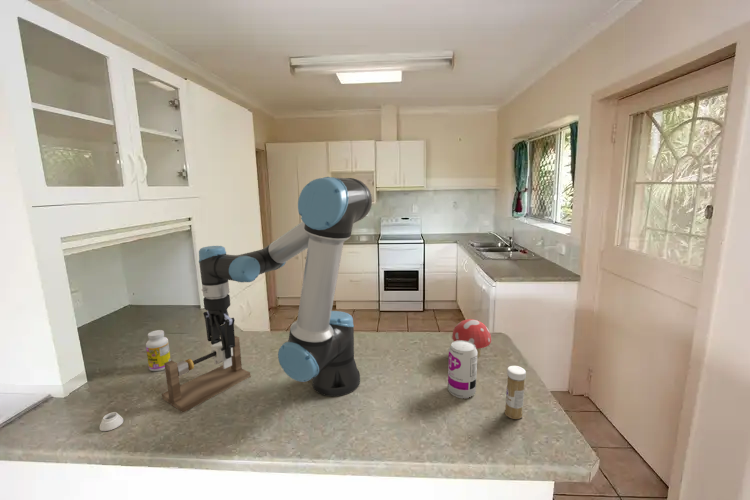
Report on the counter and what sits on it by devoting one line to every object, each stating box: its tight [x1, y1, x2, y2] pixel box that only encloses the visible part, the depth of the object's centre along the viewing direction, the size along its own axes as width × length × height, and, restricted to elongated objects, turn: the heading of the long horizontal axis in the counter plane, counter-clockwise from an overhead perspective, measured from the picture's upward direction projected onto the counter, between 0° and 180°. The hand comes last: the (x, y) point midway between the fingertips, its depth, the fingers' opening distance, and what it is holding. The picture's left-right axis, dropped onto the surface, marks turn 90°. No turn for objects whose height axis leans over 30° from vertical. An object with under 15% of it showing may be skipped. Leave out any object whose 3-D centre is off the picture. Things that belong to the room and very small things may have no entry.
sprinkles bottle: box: [504, 365, 527, 420], centre depth 92 cm, size 5×5×14 cm
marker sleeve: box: [210, 342, 233, 362], centre depth 111 cm, size 4×5×4 cm
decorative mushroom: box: [451, 318, 492, 360], centre depth 122 cm, size 13×13×15 cm
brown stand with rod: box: [161, 335, 252, 414], centre depth 107 cm, size 12×22×13 cm, turn 146°
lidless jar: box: [99, 411, 124, 432], centre depth 91 cm, size 5×3×5 cm
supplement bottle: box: [145, 329, 172, 372], centre depth 119 cm, size 7×7×13 cm
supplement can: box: [447, 340, 478, 399], centre depth 103 cm, size 8×8×15 cm
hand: (223, 364), depth 112 cm, fingers closed on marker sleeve, 4 cm apart
